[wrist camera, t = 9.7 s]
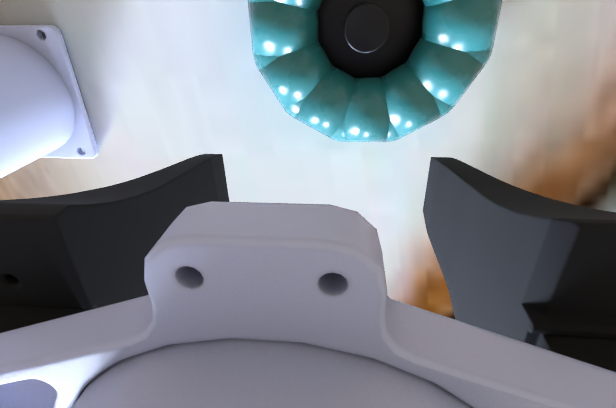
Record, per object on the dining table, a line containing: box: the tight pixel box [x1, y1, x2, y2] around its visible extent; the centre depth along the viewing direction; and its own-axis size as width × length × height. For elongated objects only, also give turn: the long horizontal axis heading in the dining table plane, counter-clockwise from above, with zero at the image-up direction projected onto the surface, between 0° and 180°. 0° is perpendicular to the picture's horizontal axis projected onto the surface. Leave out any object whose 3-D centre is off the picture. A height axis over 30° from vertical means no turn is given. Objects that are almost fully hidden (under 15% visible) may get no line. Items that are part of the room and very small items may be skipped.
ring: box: [248, 0, 502, 142], centre depth 17 cm, size 11×11×3 cm
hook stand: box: [318, 0, 424, 78], centre depth 17 cm, size 8×8×6 cm
